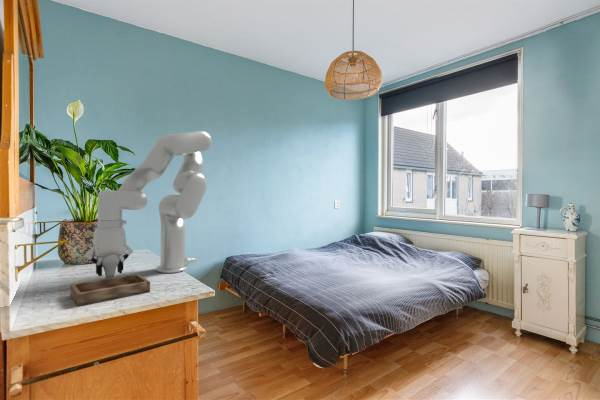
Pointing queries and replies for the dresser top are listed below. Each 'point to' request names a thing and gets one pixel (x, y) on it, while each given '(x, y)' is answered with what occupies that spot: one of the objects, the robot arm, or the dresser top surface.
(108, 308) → the dresser top surface
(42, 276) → the dresser top surface
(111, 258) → the lightbulb
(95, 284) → the walnut tray
